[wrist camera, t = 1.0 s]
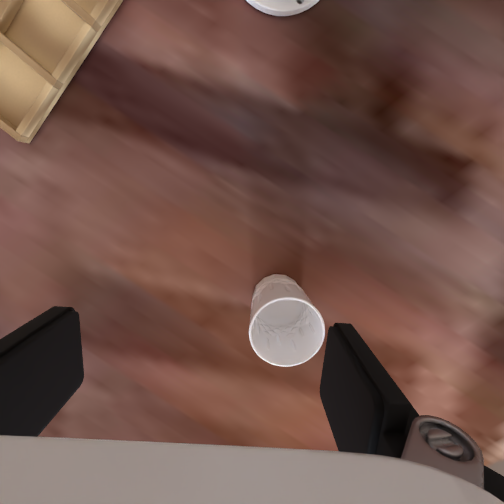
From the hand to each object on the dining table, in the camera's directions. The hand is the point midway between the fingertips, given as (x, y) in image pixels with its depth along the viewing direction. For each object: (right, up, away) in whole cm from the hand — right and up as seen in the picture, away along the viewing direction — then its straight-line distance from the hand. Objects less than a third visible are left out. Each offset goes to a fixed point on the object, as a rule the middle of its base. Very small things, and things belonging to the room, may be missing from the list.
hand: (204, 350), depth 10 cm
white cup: (+5, -2, +28) cm, 29 cm away
